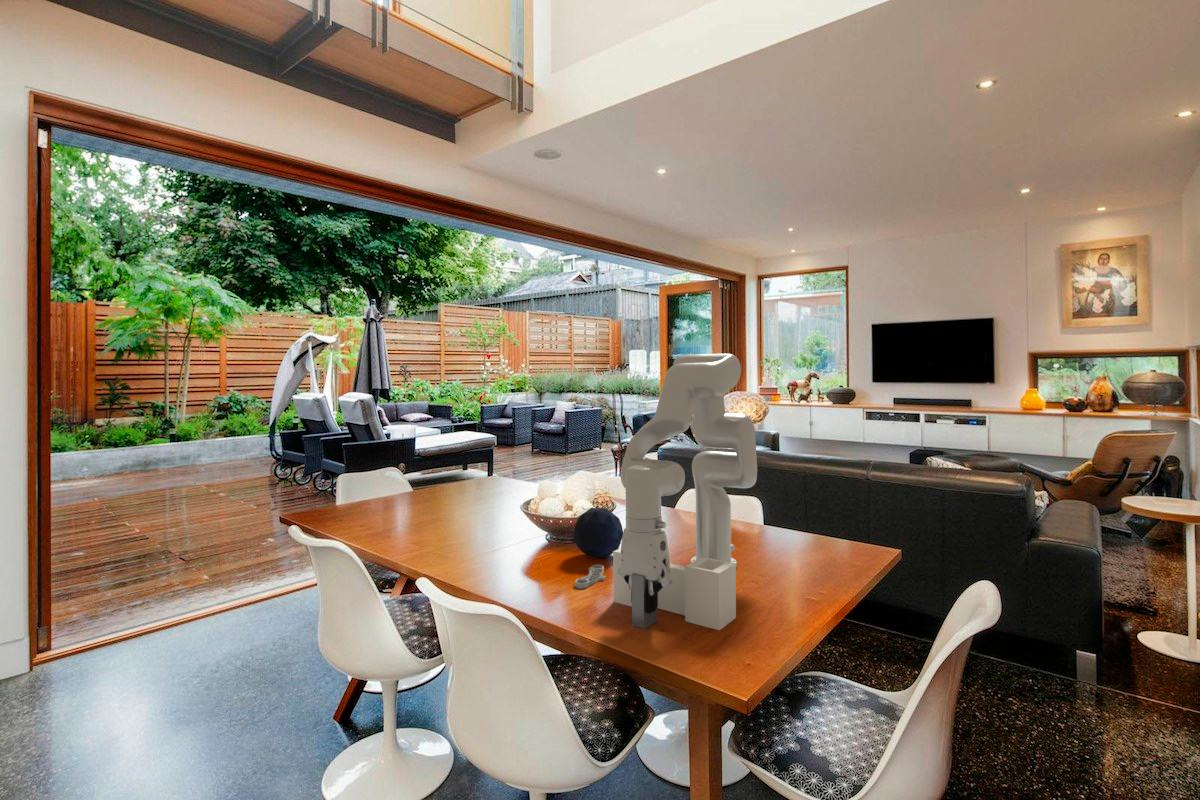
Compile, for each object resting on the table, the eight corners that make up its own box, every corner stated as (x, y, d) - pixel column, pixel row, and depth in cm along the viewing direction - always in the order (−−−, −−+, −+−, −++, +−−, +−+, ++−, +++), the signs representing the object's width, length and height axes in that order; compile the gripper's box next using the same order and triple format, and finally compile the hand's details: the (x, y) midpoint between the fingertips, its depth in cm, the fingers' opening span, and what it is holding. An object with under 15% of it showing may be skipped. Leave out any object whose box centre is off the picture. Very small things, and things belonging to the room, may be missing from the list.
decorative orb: (622, 529, 186) (593, 492, 183) (640, 541, 172) (609, 502, 169) (587, 560, 183) (557, 524, 180) (602, 576, 169) (571, 537, 166)
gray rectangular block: (645, 617, 132) (644, 568, 131) (656, 621, 130) (656, 570, 129) (632, 625, 128) (631, 574, 127) (644, 629, 126) (643, 577, 125)
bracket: (561, 579, 153) (596, 562, 166) (561, 586, 154) (596, 569, 166) (585, 584, 149) (618, 567, 161) (585, 592, 149) (619, 574, 161)
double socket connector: (633, 591, 147) (632, 543, 147) (736, 617, 131) (735, 563, 130) (613, 601, 141) (613, 551, 140) (719, 630, 125) (719, 573, 124)
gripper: (686, 525, 126) (687, 612, 127) (622, 515, 136) (623, 596, 136) (667, 533, 120) (668, 624, 121) (602, 522, 130) (603, 606, 131)
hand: (644, 608), depth 129 cm, fingers closed on gray rectangular block, 3 cm apart
